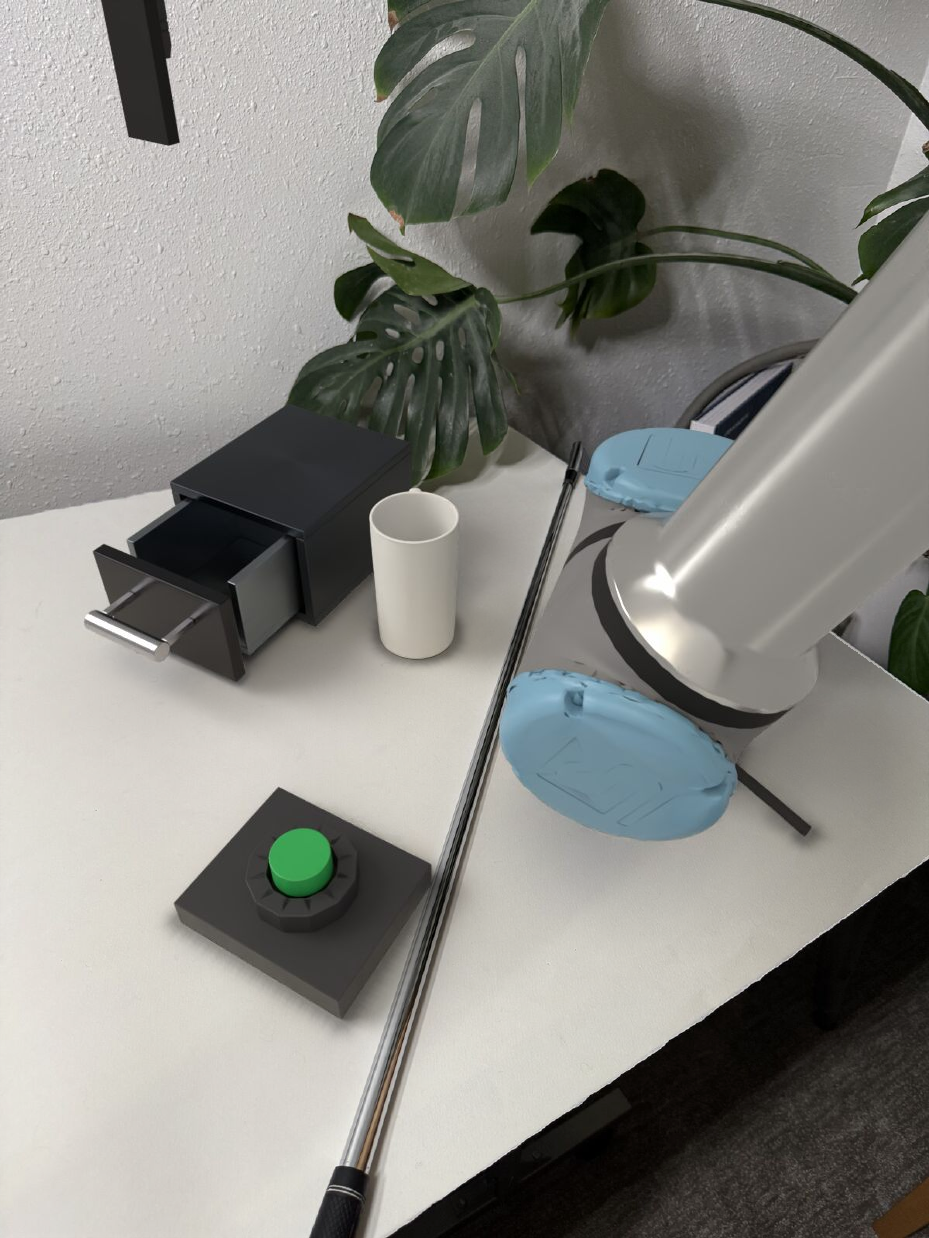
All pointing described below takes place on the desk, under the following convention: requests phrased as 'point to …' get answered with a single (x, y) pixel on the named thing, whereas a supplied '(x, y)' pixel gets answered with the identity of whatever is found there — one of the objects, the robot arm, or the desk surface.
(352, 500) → the cabinet
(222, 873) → the control block
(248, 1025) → the desk surface
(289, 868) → the button
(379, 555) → the mug
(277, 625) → the drawer
